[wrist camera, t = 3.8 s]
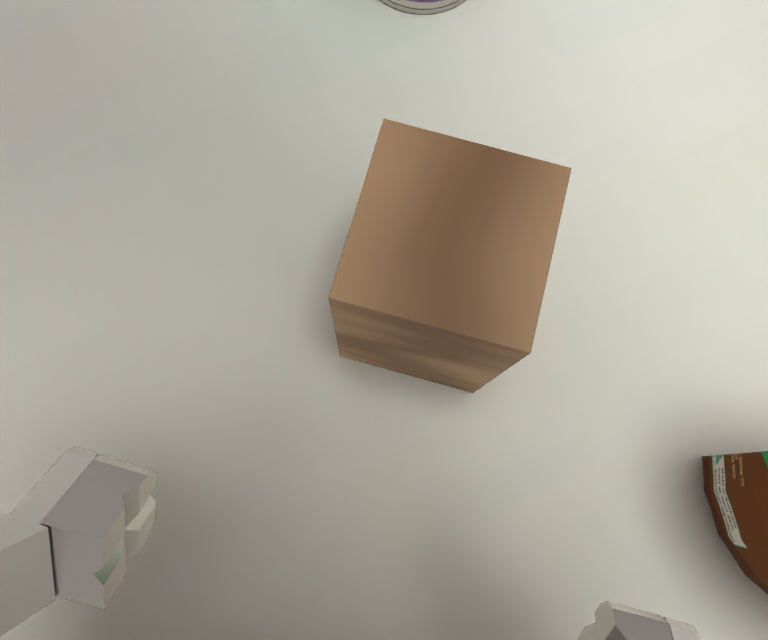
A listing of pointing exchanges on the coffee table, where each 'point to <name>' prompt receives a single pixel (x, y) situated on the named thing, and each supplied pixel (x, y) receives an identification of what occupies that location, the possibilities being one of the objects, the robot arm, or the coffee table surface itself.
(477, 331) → the walnut block
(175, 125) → the coffee table surface
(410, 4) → the spray can
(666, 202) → the coffee table surface
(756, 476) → the ice cream tub
